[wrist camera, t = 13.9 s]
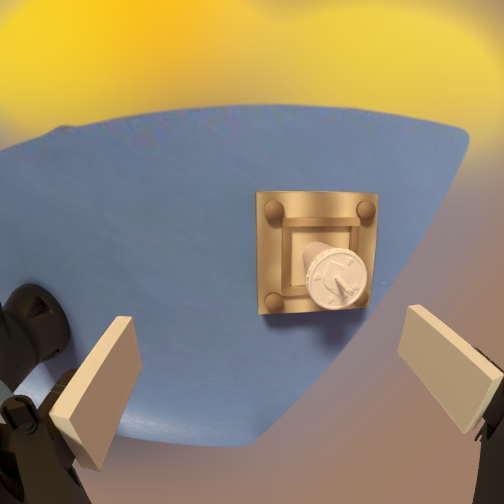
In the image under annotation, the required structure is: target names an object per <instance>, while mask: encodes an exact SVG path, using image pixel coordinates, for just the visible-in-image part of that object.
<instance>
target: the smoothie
mask: <svg viewBox="0 0 504 504" xmlns="http://www.w3.org/2000/svg"><path fill="white" fill-rule="evenodd" d="M302 259H303V263H304V267H305V271H306V287H307V291H308V293H309V295H310V296H311V298H312V299H313V300H314V301H315V302H316V303H317V304H318V305H319V306H321V307H323V308H326V309H330V310H337V309H342V308H345V307H347V306H349V305H351V304H353V303H354V302H355V301H356V300H357V299H358V298H359V297H360V296H361V294H362V293H363V291H364V289H365V286H366V282H367V271H366V267H365V265H364V263H363V261H362V260H361V259H360V258H359V257H358V256H357V255H356V254H355V253H354V252H352V251H350V250H349V249H344V248H335V247H332V246H329V245H327V244H324V243H321V242H313V243H310V244H309V245H307V246H306V247H305V249H304V251H303V254H302Z"/></svg>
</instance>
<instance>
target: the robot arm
mask: <svg viewBox="0 0 504 504" xmlns="http://www.w3.org/2000/svg"><path fill="white" fill-rule="evenodd" d="M68 342H69V327H68V323H67V320H66V317H65V315H64V312H63V311H62V309H61V307H60V305H59V304H58V303H57V301H56V300H55V299H54V297H53V296H52V295H51V294H50V293H49V292H47V291H46V290H45V289H43V288H42V287H40V286H38V285H35V284H30V283H28V284H24V285H22V286H20V287H19V288H17V289H15V290H14V291H13V292H12V294H11V295H10V297H9V298H8V300H7V301H6V303H5V305H4V306H3V308H2V306H1V303H0V406H1V407H0V414H1V416H2V417H3V419H4V420H5V422H6V424H2V423H0V504H92V503H91V502H90V500H89V498H88V496H87V494H86V492H85V490H84V488H83V486H82V484H81V482H80V480H79V477H78V476H77V473H76V471H75V469H74V468H73V466H72V463H73V461H74V459H75V458H76V460H77V461H78V463H79V464H80V465H81V467H84V468H88V469H91V470H95V471H99V472H101V469H102V466H103V464H104V461H105V458H106V455H107V453H108V450H109V447H110V445H111V442H112V439H113V437H114V434H115V432H116V429H117V427H118V424H119V422H120V419H121V417H122V414H123V412H124V409H125V407H126V404H127V402H128V399H129V397H130V394H131V392H132V390H133V387H134V385H135V383H136V380H137V378H138V376H139V373H140V371H141V369H142V361H141V357H140V352H139V348H138V343H137V338H136V333H135V328H134V323H133V317H125V316H117V317H116V319H115V320H114V321H113V323H112V324H111V325H110V327H109V328H108V329H107V331H106V332H105V333H104V335H103V336H102V337H101V339H100V340H99V341H98V343H97V344H96V345H95V347H94V348H93V349H92V351H91V352H90V354H89V355H88V356H87V358H86V359H85V361H84V362H83V363H82V365H81V366H80V368H79V369H78V370H77V369H70V370H69V371H67V372H66V373H64V374H63V375H62V376H61V377H60V378H59V380H58V381H57V382H56V385H54V387H53V388H52V389H51V392H49V394H48V395H47V396H46V398H45V399H44V401H43V402H42V403H41V405H40V406H39V408H38V409H36V407H35V405H34V403H33V401H32V399H31V398H29V397H28V396H25V395H14V396H12V394H13V392H14V391H15V390H16V389H17V388H18V386H19V385H20V384H21V383H22V382H23V381H24V380H25V378H26V377H27V376H28V375H29V374H30V373H31V371H32V370H33V369H34V368H35V367H36V366H37V365H38V364H39V363H42V362H44V361H47V360H49V359H52V358H54V357H56V356H58V355H59V354H60V353H61V352H62V351H63V350H64V349H65V348H66V346H67V344H68ZM398 354H399V355H400V356H401V357H402V358H403V360H404V361H405V362H406V363H407V364H408V365H409V367H410V368H411V369H412V370H413V372H414V373H415V374H416V375H417V376H418V378H419V379H420V380H421V381H422V382H423V384H424V385H425V386H426V387H427V389H428V390H429V391H430V392H431V393H432V395H433V396H434V397H435V398H436V400H437V401H438V402H439V403H440V405H441V406H442V407H443V408H444V410H445V411H446V412H447V414H448V415H449V416H450V417H451V419H452V420H453V421H454V422H455V424H456V425H457V426H458V428H459V429H460V430H461V432H462V433H463V434H464V433H466V432H468V431H470V430H472V429H474V428H476V426H477V425H478V423H479V421H480V420H481V418H482V417H483V418H484V419H485V423H484V425H483V426H482V428H481V429H480V431H479V433H478V434H477V436H476V437H475V441H477V439H478V438H479V436H480V435H482V438H481V439H480V442H481V453H480V462H479V469H478V476H477V482H476V488H475V493H474V498H473V503H472V504H504V371H503V370H502V369H501V368H500V367H498V366H497V365H496V364H495V363H494V362H493V361H490V359H489V358H488V357H487V356H485V355H484V354H483V353H482V352H481V351H480V350H479V349H477V348H475V347H473V346H471V345H469V344H468V343H467V342H466V341H465V340H463V339H462V338H461V337H460V336H459V335H457V334H456V333H455V332H454V331H452V330H451V329H450V328H449V327H447V326H446V325H445V324H444V323H442V322H441V321H440V320H439V319H437V318H436V317H435V316H434V315H432V314H431V313H430V312H429V311H427V310H426V309H425V308H423V307H422V306H421V305H413V306H408V309H407V314H406V319H405V323H404V328H403V332H402V337H401V340H400V344H399V348H398ZM11 396H12V397H11Z"/></svg>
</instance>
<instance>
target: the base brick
mask: <svg viewBox="0 0 504 504" xmlns="http://www.w3.org/2000/svg"><path fill="white" fill-rule="evenodd" d="M255 211H256V270H257V304H258V313H259V314H278V313H298V312H315V311H329V310H330V309H326V308H323V307H321V306H319V305H318V304H317V303H316V302H315V301H314V300H313V299H312V298H311V296H310V295H309V293H308V291H307V287H306V271H305V267H304V263H303V259H302V254H303V251H304V249H305V247H306V246H307V245H309V244H310V243H313V242H321V243H324V244H327V245H329V246H332V247H335V248H344V249H349V250H350V251H352V252H354V253H355V254H356V255H357V256H358V257H359V258H360V259H361V260H362V261H363V263H364V265H365V267H366V271H367V282H366V286H365V289H364V291H363V293H362V294H361V296H360V297H359V298H358V299H357V300H356V301H355V302H354V303H353V304H351V305H349V306H347V307H345V308H342V309H354V308H365V307H369V302H370V294H371V286H372V277H373V268H374V257H375V245H376V230H377V211H378V195H375V194H370V193H364V192H329V191H255ZM342 309H337V310H342Z"/></svg>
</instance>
